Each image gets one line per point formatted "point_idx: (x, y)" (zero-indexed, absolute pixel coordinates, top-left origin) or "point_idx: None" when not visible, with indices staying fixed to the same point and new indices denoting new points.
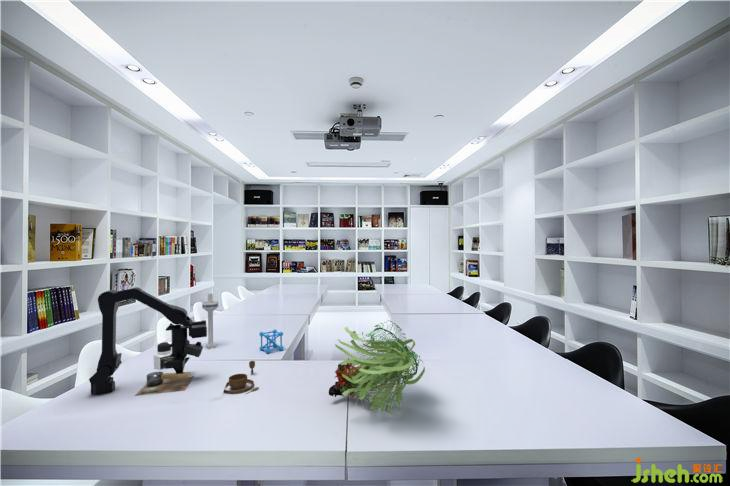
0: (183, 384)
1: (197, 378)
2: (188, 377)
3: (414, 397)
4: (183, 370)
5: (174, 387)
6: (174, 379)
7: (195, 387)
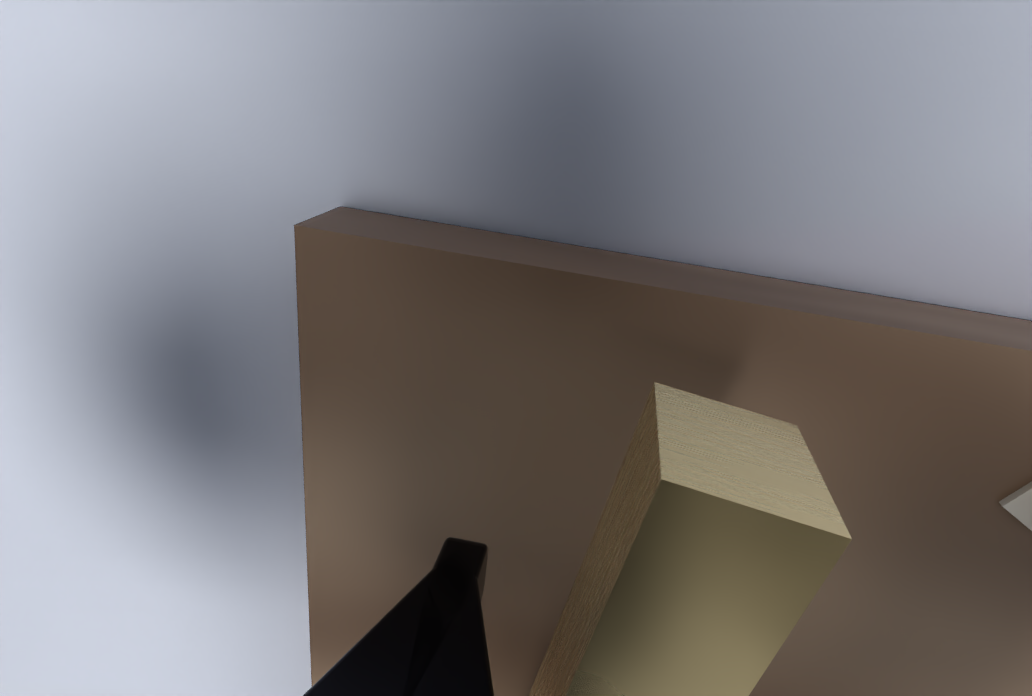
0: (846, 462)
1: (262, 139)
2: (779, 424)
3: None
4: (371, 655)
5: (933, 626)
6: (383, 604)
7: (953, 135)
